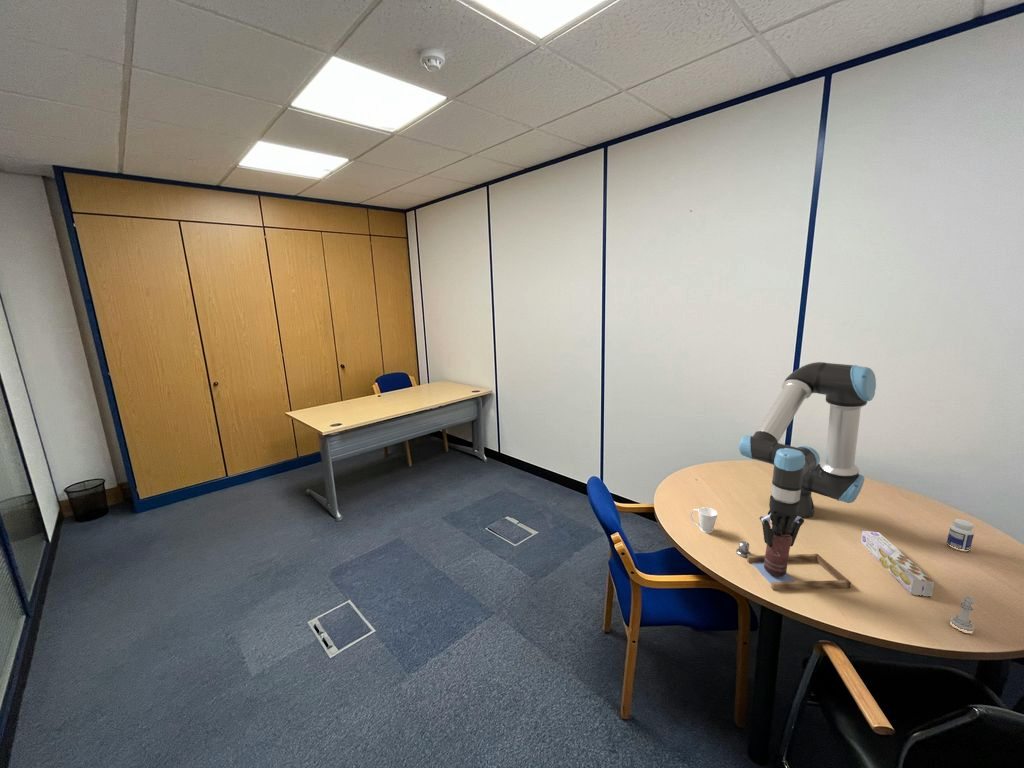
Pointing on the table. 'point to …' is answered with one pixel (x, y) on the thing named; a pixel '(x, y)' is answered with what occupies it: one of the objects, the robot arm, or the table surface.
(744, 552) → the grey metal knob
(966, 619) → the chess piece
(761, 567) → the front pad
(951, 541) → the pill bottle
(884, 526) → the table surface
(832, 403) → the robot arm
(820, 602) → the table surface
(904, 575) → the box
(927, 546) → the table surface
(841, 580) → the frame
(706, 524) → the cup
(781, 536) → the can
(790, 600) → the table surface
